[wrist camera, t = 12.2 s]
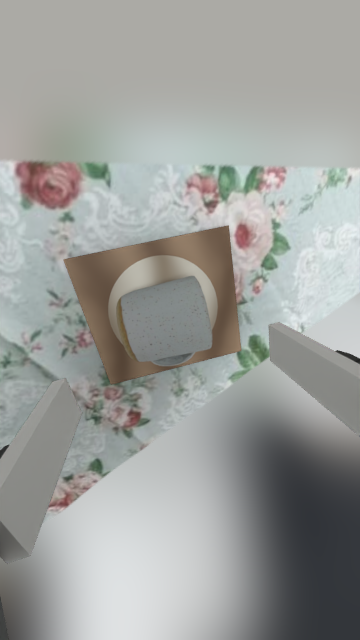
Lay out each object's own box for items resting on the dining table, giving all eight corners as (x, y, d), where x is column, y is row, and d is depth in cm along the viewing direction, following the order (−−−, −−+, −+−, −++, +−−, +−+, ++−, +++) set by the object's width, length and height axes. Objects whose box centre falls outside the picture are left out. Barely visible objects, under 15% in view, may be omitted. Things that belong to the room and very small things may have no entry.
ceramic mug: (117, 288, 23) (104, 309, 16) (188, 270, 23) (207, 281, 16) (144, 367, 27) (144, 412, 20) (205, 350, 27) (226, 387, 20)
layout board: (112, 380, 28) (110, 386, 27) (66, 259, 22) (62, 259, 21) (238, 347, 29) (242, 351, 28) (225, 226, 24) (229, 225, 22)
